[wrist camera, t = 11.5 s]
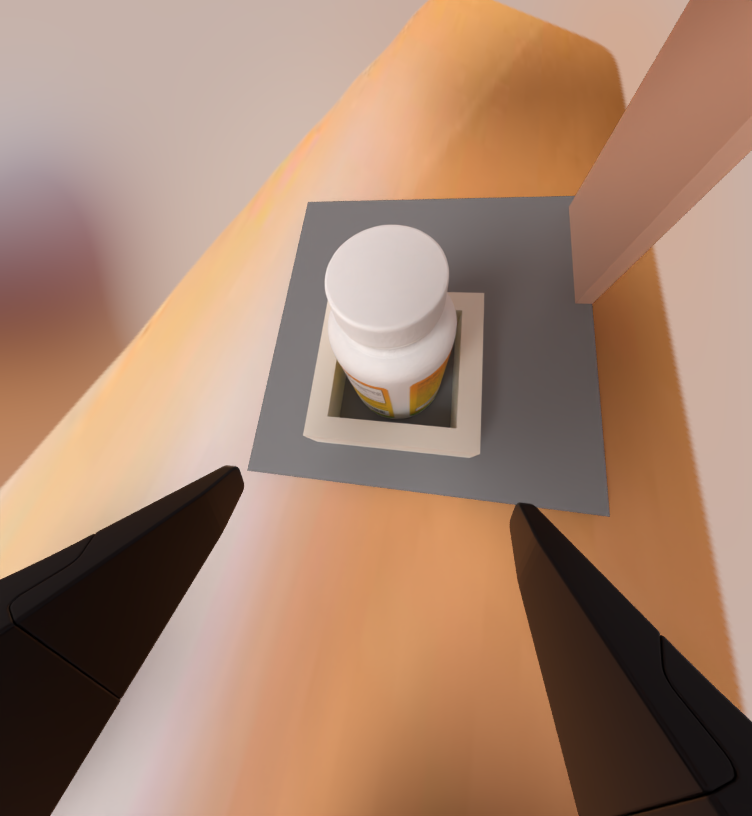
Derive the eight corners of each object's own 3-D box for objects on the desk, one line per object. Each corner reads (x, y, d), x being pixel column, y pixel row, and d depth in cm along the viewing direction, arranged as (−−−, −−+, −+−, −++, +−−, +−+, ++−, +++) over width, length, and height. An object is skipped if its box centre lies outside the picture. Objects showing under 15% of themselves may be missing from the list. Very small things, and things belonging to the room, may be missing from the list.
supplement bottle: (433, 338, 18) (459, 191, 9) (445, 415, 17) (490, 338, 8) (354, 348, 19) (300, 220, 10) (359, 424, 17) (303, 362, 8)
